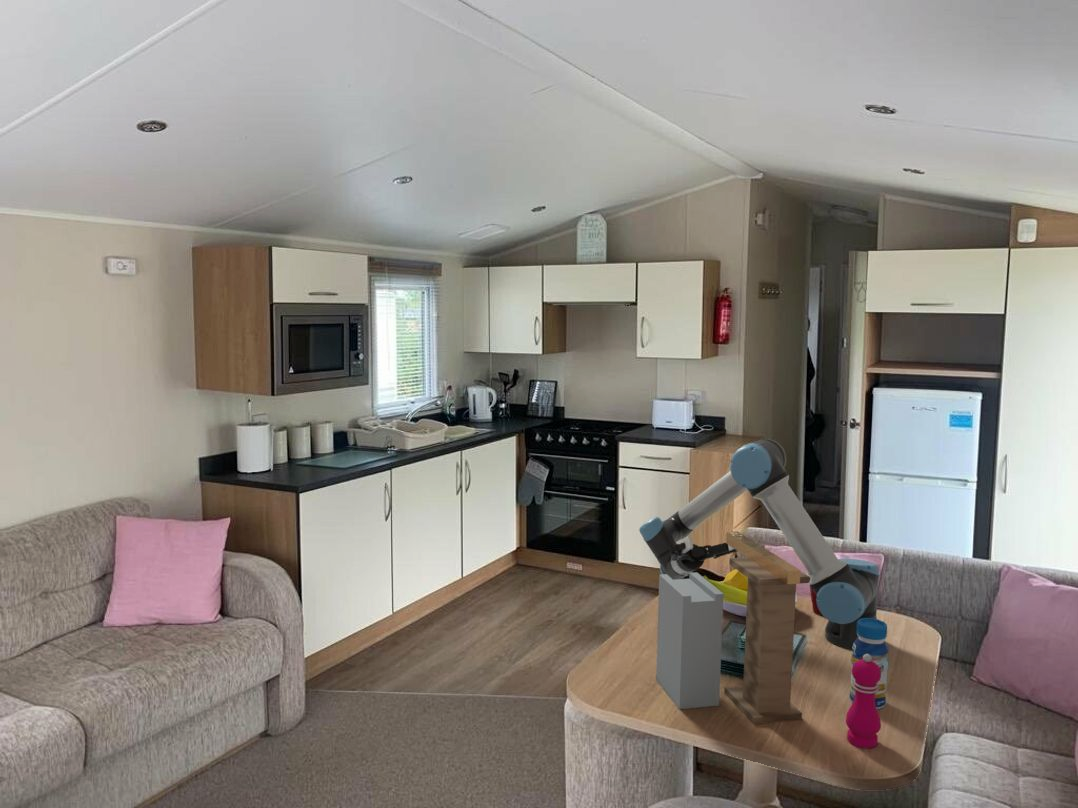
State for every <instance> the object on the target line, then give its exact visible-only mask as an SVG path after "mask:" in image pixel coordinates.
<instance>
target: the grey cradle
mask: <svg viewBox="0 0 1078 808" xmlns="http://www.w3.org/2000/svg"><path fill="white" fill-rule="evenodd" d="M658 575H659V578H658V606H657V607H658V608H657V610H658V611H657V612H658V613H657V636H656V637H657V643H656V669H655V670H656V672H655V681H657V683H658V684H659V685H660V687H661V688H662V689H663V690H664V692H665V693H666V694H667V695H668V697H669V698H670V699H671V701H672V702H673V703H674V705H675V706H676V707H677V708H678V710H684V709H685V710H686V709H687V710H688V709H697V708H707V707H716V706H718V707H719V706H720V696H721V695H720V692H721V691H720V688H721V667H722V665H721V664H722V645H723V644H722V643H723V642H722V639H723V638H722V637H723V617H724V616H723V615H724V609H723V593H722V592H721V591H719V590H718V589H717V588H716V587H714V586H713V585H712V584H711V583H710V582H708V581H707V580H706V579H705V578H703V576H702V575H701V574H700V573H698V572H697V571H696V572H691V573H690V574H688V577H689V578H682V579H675V580H673V579H672V578H671V577H670V576H668V575H667V574H662V575H661V574H658Z"/></svg>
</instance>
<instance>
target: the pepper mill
mask: <svg viewBox="0 0 1078 808" xmlns="http://www.w3.org/2000/svg"><path fill="white" fill-rule="evenodd" d="M871 659H872V658H871V656H870V655H869V654H865V655H864V656H863V659H862V660H858V661H856V662H855V663H854V665H853V667H852V666H851V671H852V675H853V677H854V679H855V680H854V681H853V683H854V685H853V687H854V689H855V698H854V701H853V703H852V702H851V705H850V707H849V708H848V710H847V713H846V716H845V723H846V726H847V728H848V729H847V732H846V740H847V741H848V743H850V744H851V745H853V746H855V747H857V748H862V749H872V748H873V749H874V748H875V747H876V746H877V745H878V738H879V735H878V733H879V731H880V730H881V728H882V725H881V724H882V721H881V717H880V714H879V712H878V711H879V710H878V709H876V706H875V692H877V691H878V688H877V687H878V684H877V682H878V681H879V680H880V678H881V670H880V668H879V666H878V665H877V664H876V663H875V662H873V661H871Z"/></svg>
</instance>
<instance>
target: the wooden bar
mask: <svg viewBox="0 0 1078 808" xmlns="http://www.w3.org/2000/svg"><path fill="white" fill-rule="evenodd" d="M725 538H726V539H725V540H726V541H725V543H726V544H728V545H729V546H731V547H732V548H734V549H735V550H737V552H739V553H740V554H741V555H743V557H747V558H749V559H750V560H752V561H753V562H755V563H756V564H758V565H759V566H761V567H762V568H764V569H765V570H767V571H768V572H770V573H771V574H773V575H774V576H776V577H777V578H779V579H780V580H782V581H783V582H785V583H786V584H796V585H798V584H800V572H802V570H801V569H799V568H798V567H796V566H795V565H793V564H791V563H789V562H788V561H786V560H785V559H783V558H781V557H780V556H778V555H777V554H775V553H773V552H772V551H770V550H768V549H767V548H765V547H764V546H762V545H760V544H759V543H757V542H755V541H754V540H753V539H750V537H748V536H746V535H744V534H743V533H741V532H739V531H726V537H725Z"/></svg>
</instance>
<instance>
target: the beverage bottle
mask: <svg viewBox="0 0 1078 808" xmlns="http://www.w3.org/2000/svg"><path fill="white" fill-rule="evenodd" d="M857 635H858V636H859V637H858V638H857V639H856V640H855V642H854V644H853V646H852V649H851V650H852V652H853V653H852V654H851V656H850V662H851V668H852V667H853V665H854V663H855V662H856V661H858V660H862V659H863V656H864V655H865V654H869V655H870V656H871V658H872V659H871V661H873V662H875V663H876V664H877V665H878V666H879V668H880V670H881V678H880V680H879V681H878V682H877V684H878V687H877V688H878V691H877V692H875V706H876V709H877V710H879V709H883V708H884V707H885V706H886V705H887V704H886V703H887V698H886V694H887V693H886V692H887V681H888V679H887V678H888V668H889V665H890V661H889V659H888V657H889V655H890V650H889V646H888V645H887V643H886V641H885V640H886V639H887V637H888V636H887V635H888V625H887V623H886V622H885V621H883V620H880V619H878V618H877V619H872V618H862V619H859V620H858V622H857ZM850 671H851V673H850V675H851V676H850V690H849V702H851V704H852V703H853V701H854V698H855V689H854V687H853V685H854V683H853V681H854V680H855V679H854V677H853V675H852V670H850Z"/></svg>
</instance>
